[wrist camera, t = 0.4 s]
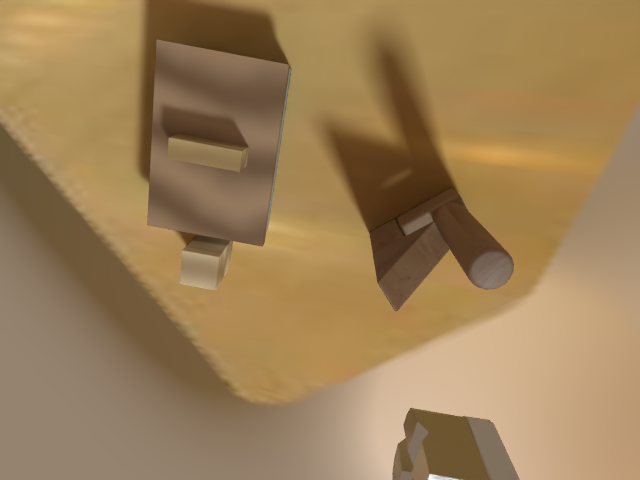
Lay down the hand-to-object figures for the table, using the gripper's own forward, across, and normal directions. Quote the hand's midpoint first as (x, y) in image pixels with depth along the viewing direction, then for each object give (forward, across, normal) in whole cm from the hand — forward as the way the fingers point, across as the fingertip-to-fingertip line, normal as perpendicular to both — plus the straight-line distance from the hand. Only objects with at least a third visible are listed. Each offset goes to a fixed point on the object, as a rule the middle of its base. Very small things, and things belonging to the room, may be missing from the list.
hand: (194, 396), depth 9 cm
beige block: (+44, +10, +15) cm, 47 cm away
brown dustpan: (+44, -13, +7) cm, 46 cm away
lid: (+39, +10, +2) cm, 41 cm away
